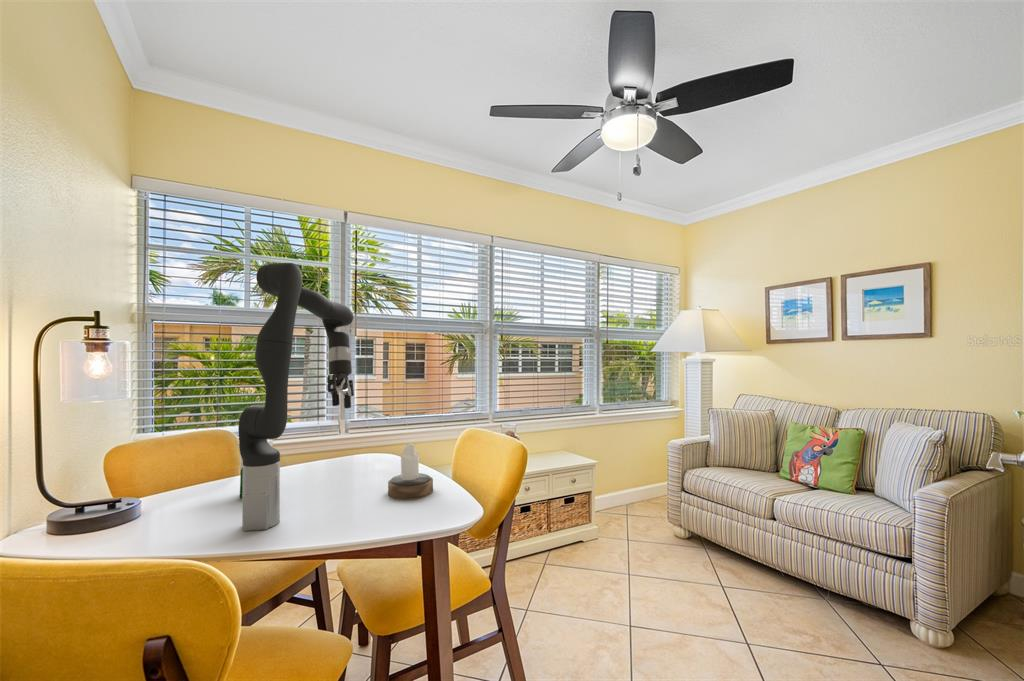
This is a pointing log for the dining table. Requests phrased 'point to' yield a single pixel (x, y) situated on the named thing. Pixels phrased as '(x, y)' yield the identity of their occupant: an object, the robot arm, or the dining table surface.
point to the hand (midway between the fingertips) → (342, 407)
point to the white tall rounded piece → (409, 463)
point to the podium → (410, 487)
